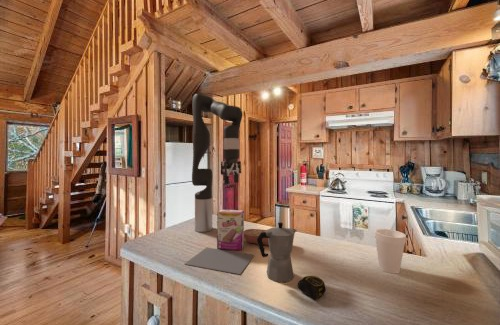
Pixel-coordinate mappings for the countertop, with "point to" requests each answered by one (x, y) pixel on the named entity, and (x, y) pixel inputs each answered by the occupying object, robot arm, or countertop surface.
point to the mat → (221, 260)
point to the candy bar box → (230, 229)
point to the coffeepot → (278, 252)
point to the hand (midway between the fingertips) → (231, 183)
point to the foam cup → (390, 249)
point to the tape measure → (312, 286)
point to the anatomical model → (254, 236)
